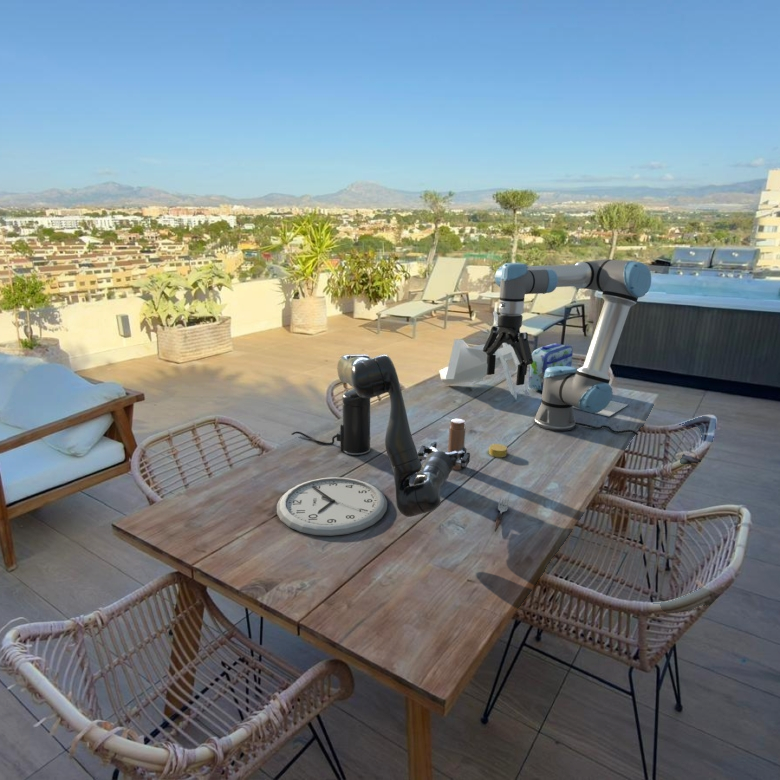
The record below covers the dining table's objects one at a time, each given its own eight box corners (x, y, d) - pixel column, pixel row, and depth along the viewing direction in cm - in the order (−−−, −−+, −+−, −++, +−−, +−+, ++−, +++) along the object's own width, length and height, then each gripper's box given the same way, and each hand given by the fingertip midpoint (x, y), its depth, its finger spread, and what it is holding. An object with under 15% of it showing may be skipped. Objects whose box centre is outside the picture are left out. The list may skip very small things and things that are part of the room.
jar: (465, 468, 166) (468, 423, 161) (451, 470, 164) (453, 424, 160) (459, 462, 170) (461, 417, 166) (445, 464, 169) (447, 418, 164)
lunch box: (544, 395, 239) (549, 351, 233) (524, 390, 247) (528, 347, 240) (571, 384, 257) (577, 343, 251) (552, 380, 264) (556, 339, 258)
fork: (489, 532, 131) (490, 525, 131) (499, 502, 145) (500, 496, 145) (500, 534, 130) (500, 527, 130) (509, 504, 145) (509, 497, 144)
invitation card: (608, 416, 214) (573, 407, 224) (608, 416, 214) (573, 408, 224) (628, 404, 229) (594, 396, 238) (628, 405, 229) (594, 397, 238)
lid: (485, 451, 179) (486, 444, 178) (500, 449, 181) (501, 443, 180) (494, 458, 174) (495, 451, 173) (509, 456, 176) (510, 449, 175)
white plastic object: (461, 429, 252) (437, 405, 227) (444, 352, 274) (420, 323, 250) (535, 404, 240) (518, 377, 215) (510, 326, 262) (492, 293, 237)
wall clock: (392, 527, 129) (268, 531, 127) (391, 533, 130) (269, 537, 127) (383, 473, 158) (282, 475, 155) (383, 478, 158) (282, 480, 156)
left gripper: (462, 461, 137) (474, 438, 151) (410, 453, 141) (426, 431, 156) (460, 487, 139) (472, 462, 154) (409, 478, 144) (425, 454, 158)
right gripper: (475, 309, 171) (470, 371, 178) (531, 321, 151) (524, 391, 158) (492, 307, 175) (487, 369, 182) (549, 319, 155) (542, 387, 161)
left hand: (449, 446), depth 155 cm, fingers open, 8 cm apart
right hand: (504, 379), depth 170 cm, fingers open, 13 cm apart
